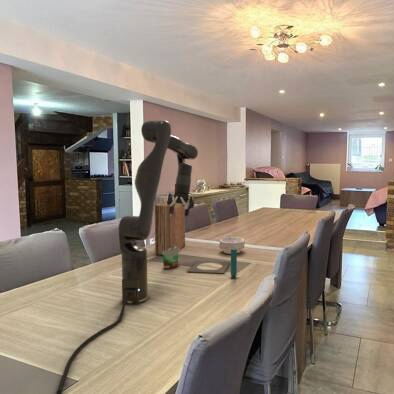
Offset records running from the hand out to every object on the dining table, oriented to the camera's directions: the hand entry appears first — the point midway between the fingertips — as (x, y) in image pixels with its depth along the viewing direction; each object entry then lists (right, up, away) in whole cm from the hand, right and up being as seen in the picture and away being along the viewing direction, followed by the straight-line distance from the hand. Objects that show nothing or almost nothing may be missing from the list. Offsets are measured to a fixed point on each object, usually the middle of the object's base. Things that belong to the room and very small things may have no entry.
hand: (178, 215), depth 174 cm
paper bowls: (+24, -25, +32) cm, 48 cm away
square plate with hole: (+16, -27, +1) cm, 32 cm away
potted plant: (-3, -27, +2) cm, 28 cm away
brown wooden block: (-13, -24, +35) cm, 44 cm away
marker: (+29, -29, -14) cm, 44 cm away
